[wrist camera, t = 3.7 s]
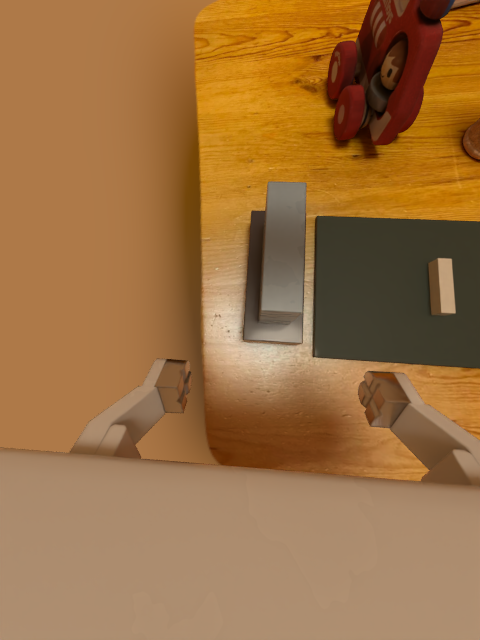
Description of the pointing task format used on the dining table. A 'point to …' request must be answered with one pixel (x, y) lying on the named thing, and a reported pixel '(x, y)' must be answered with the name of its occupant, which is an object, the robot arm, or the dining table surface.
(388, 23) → the toy fire truck
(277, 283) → the eraser
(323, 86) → the dining table surface
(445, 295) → the chalk stick
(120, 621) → the robot arm
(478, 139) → the sprinkles bottle
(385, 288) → the chalkboard
